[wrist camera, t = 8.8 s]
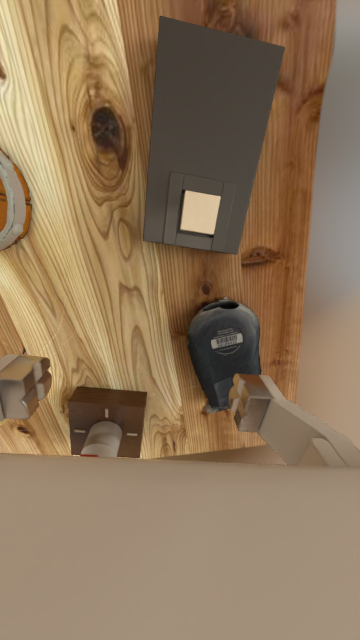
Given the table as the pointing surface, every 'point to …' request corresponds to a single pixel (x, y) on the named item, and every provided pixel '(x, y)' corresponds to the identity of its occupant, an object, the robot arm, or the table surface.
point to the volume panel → (107, 417)
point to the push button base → (206, 129)
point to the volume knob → (102, 440)
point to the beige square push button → (199, 212)
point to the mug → (13, 203)
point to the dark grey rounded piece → (223, 348)
